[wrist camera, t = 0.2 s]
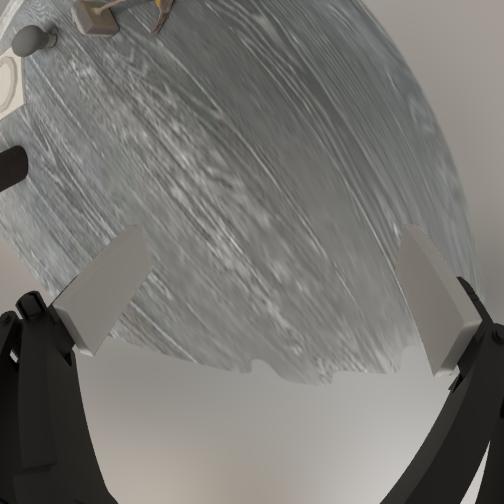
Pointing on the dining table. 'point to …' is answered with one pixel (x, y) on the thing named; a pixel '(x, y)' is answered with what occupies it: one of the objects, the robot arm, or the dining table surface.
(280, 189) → the dining table surface
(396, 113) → the dining table surface
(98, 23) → the decorative sculpture
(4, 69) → the socket
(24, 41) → the light bulb
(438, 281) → the robot arm
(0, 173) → the container
